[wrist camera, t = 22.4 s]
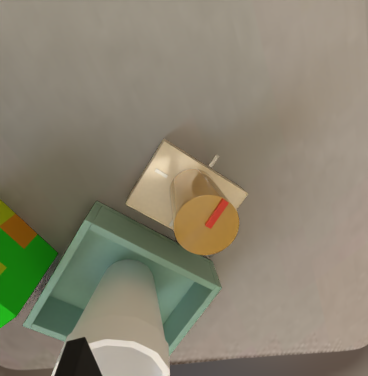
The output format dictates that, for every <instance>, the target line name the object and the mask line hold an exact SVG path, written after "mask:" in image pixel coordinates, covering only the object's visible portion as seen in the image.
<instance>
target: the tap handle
mask: <svg viewBox="0 0 368 376" xmlns="http://www.w3.org/2000/svg"><path fill="white" fill-rule="evenodd" d="M169 198H170V205H171V213H172V220H173V228H174V234H175V237H176V239H177V241H178V242H179V244H180V245H181V246H182V247H183V248H184V249H186V250H187V251H189V252H191V253H193V254H197V255H211V254H215V253H218V252H220V251H222V250H224V249H225V248H227V247H228V246H229V245H230V244H231V243H232V242H233V240H234V239H235V237H236V235H237V233H238V229H239V216H238V213H237V211H236V209H235V207H234V206H233V205H232V203H231V202H230V201H229V199H228V198H227V197H226V195H225V194H224V193H223V191H222V190H221V189H220V187H219V186H218V185H217V183H216V182H215V181H214V179H213V178H212V177H211V176H210V175H209V174H208V173H207V172H205V171H203V170H200V169H187V170H184V171H182V172H181V173H179V174H178V175H177V176H176V177H175V178H174V179H173V180H172V182H171V184H170V188H169Z"/></svg>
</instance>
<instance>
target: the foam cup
mask: <svg viewBox="0 0 368 376" xmlns="http://www.w3.org/2000/svg"><path fill="white" fill-rule="evenodd" d="M82 337H85V338H86V340H87V342H88V344H89V347H90V349H91V351H92V353H93V356H94V358H95V360H96V362H97V365H98V367H99V369H100V371H101V374H102V376H170V366H169V345H168V343H167V341H166V340H165V335H164V330H163V325H162V320H161V314H160V309H159V304H158V299H157V293H156V288H155V283H154V277H153V274H152V272H151V271H150V269H149V268H148V266H146V265H145V264H143V263H141V262H140V261H137V260H130V259H125V260H121V261H117V262H115V263H113V264H112V265H111V266H110V267H108V268H107V269H106V271H105V273H104V275H103V276H102V278H101V280H100V282H99V284H98V286H97V287H96V289H95V291H94V293H93V295H92V297H91V298H90V300H89V302H88V304H87V306H86V308H85V309H84V311H83V313H82V315H81V317H80V319H79V320H78V322H77V324H76V326H75V328H74V330H73V331H72V333H71V334H69V335H68V336H67V338H66V340H65V343H64V345H63V347H62V350H61V352H60V354H59V357H58V359H57V362H56V365H55V367H54V370H53V372H52V375H51V376H54V375H55V372H56V369H57V367H58V364H59V361H60V359H61V356H62V353H63V350H64V348H65V345H66V342H67V341H70V340H74V339H78V338H82Z"/></svg>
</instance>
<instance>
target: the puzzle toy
mask: <svg viewBox="0 0 368 376" xmlns="http://www.w3.org/2000/svg"><path fill="white" fill-rule="evenodd" d="M57 255H58V253H57V252H56V251H55V250H54V249H53V248H52V247H51V246H50V245H49V244H48V243H47V242H46V241H44V240H43V239H42V238H41V237H40V236H39V235H38V234H37V233H36V232H35V231H34V230H33V229H32V228H31V227H29V226H28V225H27V224H26V223H25V222H24V221H23V220H22V219H21V218H20V217H19V216H18V215H17V214H15V213H14V212H13V211H12V210H11V209H10V208H9V207H8V206H7V205H6V204H5V203H4V202H3V201H2V200H0V328H1V327H2V326H4V325H5V324H7V323H8V322H9V321H11V320H12V319H14V318H15V317H16V316H17V315H18V313H19V312H20V310H21V309H22V307H23V306H24V304H25V303H26V301H27V300H28V298H29V297H30V295H31V294H32V292H33V291H34V289H35V288H36V286H37V285H38V283H39V282H40V280H41V279H42V277H43V276H44V274H45V273H46V271H47V270H48V268H49V267H50V265H51V264H52V262H53V261H54V259H55V258H56V256H57Z"/></svg>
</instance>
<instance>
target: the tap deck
mask: <svg viewBox="0 0 368 376" xmlns="http://www.w3.org/2000/svg"><path fill="white" fill-rule="evenodd" d="M218 157H219V156H217V155H215V157H214V158H213V160H212V161H211V163H210V164H209V166H210V167H211V168H210V167H209V166H207V165H205V164H204V163H202V162H201V161H199V160H197V159H196V158H194V157H193V156H191V155H190V154H188V153H186V152H185V151H183V150H182V149H180V148H178V147H177V146H175V145H174V144H172V143H170V142H169V141H167V140H166V139H164V138H163V140H162V142H161V143H160V145H159V146H158V148H157V150H156V151H155V153H154V155H153V156H152V158H151V159H150V161H149V163H148V164H147V166H146V168H145V169H144V171H143V172H142V174H141V176H140V177H139V179H138V181H137V182H136V184H135V186H134V187H133V189H132V190H131V192H130V194H129V195H128V197H127V200H126V205H127V206H129V207H131V208H133V209H135V210H137V211H139V212H140V213H142V214H144V215H146V216H148V217H150V218H152V219H153V220H155V221H157V222H159V223H161V224H163V225H165V226H167V227H168V228H170V229H172V230H174V228H173V220H172V213H171V205H170V198H169V188H170V184H171V182H172V180H173V179H174V178H175V177H176V176H177V175H178V174H179V173H181V172H182V171H184V170H187V169H200V170H203V171H205V172H207V173H208V174H209V175H210V176H211V177H212V178H213V179H214V181H215V182H216V183H217V185H218V186H219V187H220V189H221V190H222V191H223V193H224V194H225V195H226V197H227V198H228V199H229V201H230V202H231V203H232V205H233V206H234V207H235V209H236V210H237V209H238V207H239V206H240V204H241V203H242V202H243V200H244V199H245V198H246V196H247V195H248V193H247V192H246V191H245V190H244V189H243V188H242V187H240V186H239V185H237V184H235V183H234V182H232V181H231V180H229V179H228V178H226V177H224V176H223V175H221V174H220V173H218V172H216V171H215V170H213V169H212V166H213V165H214V163H215V162H216V160H217V159H218Z"/></svg>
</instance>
